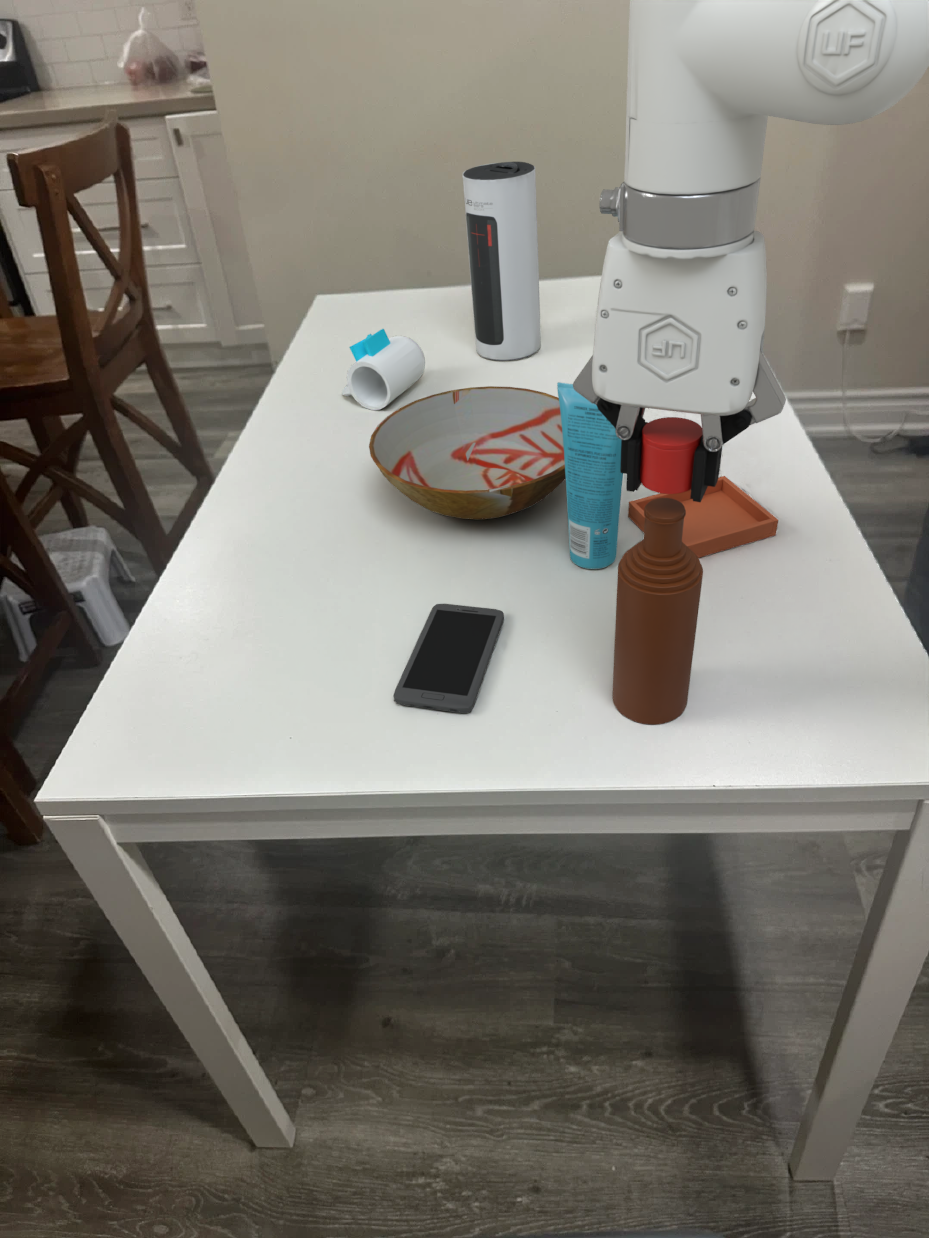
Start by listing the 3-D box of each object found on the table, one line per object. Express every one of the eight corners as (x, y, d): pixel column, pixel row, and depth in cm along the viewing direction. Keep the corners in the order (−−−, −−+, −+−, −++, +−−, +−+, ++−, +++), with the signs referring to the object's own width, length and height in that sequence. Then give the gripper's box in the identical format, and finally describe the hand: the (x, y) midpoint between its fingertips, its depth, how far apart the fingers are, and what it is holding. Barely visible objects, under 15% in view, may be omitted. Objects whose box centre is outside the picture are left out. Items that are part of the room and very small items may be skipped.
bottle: (663, 664, 78) (681, 477, 66) (701, 711, 74) (728, 518, 61) (599, 685, 77) (605, 497, 64) (634, 733, 72) (647, 541, 60)
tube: (631, 548, 92) (640, 379, 80) (622, 575, 89) (630, 402, 77) (563, 540, 95) (562, 373, 82) (552, 565, 91) (549, 396, 79)
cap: (633, 467, 63) (636, 419, 60) (689, 461, 63) (694, 413, 60) (646, 497, 60) (649, 447, 57) (705, 491, 60) (710, 441, 57)
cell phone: (391, 704, 77) (390, 698, 76) (435, 607, 87) (434, 601, 86) (471, 715, 75) (470, 709, 75) (506, 614, 85) (505, 609, 85)
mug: (413, 310, 124) (367, 342, 116) (440, 368, 128) (398, 403, 120) (356, 333, 131) (309, 365, 124) (383, 388, 135) (340, 422, 127)
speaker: (462, 347, 138) (447, 167, 121) (515, 330, 142) (508, 153, 125) (500, 367, 131) (490, 179, 114) (555, 348, 134) (552, 164, 118)
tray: (722, 490, 100) (724, 475, 98) (776, 535, 92) (778, 519, 91) (627, 516, 97) (628, 501, 96) (674, 565, 90) (676, 549, 88)
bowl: (403, 576, 92) (393, 512, 87) (361, 466, 111) (351, 408, 106) (623, 526, 96) (627, 463, 91) (547, 428, 115) (546, 371, 110)
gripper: (530, 227, 51) (539, 496, 62) (834, 239, 44) (781, 535, 56) (572, 192, 56) (574, 447, 67) (850, 199, 49) (799, 478, 61)
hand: (668, 484), depth 61 cm, fingers closed on cap, 3 cm apart
